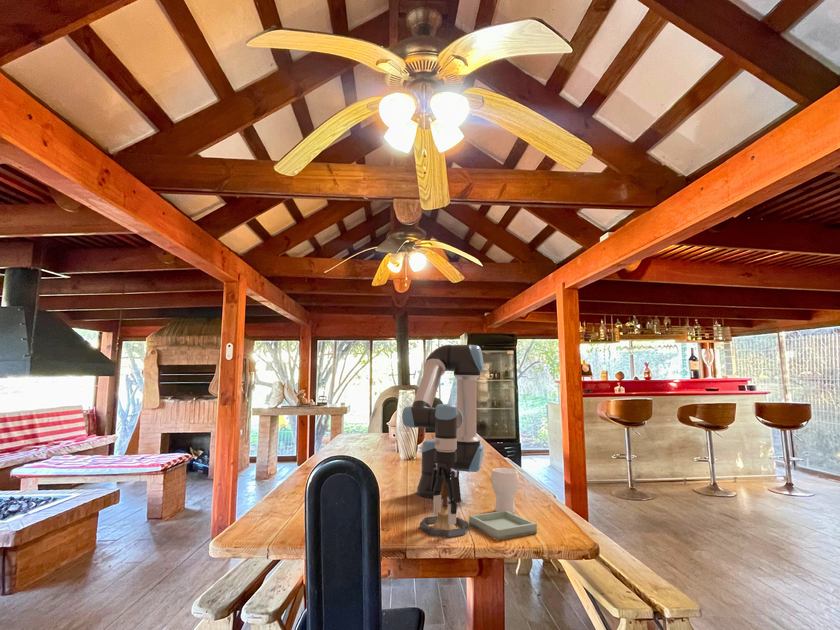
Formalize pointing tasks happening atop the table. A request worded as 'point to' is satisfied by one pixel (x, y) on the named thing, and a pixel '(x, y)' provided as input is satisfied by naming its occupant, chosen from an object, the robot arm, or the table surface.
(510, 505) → the cup
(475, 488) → the table surface
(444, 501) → the hand bell
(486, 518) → the green square tray
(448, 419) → the robot arm
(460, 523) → the collar
